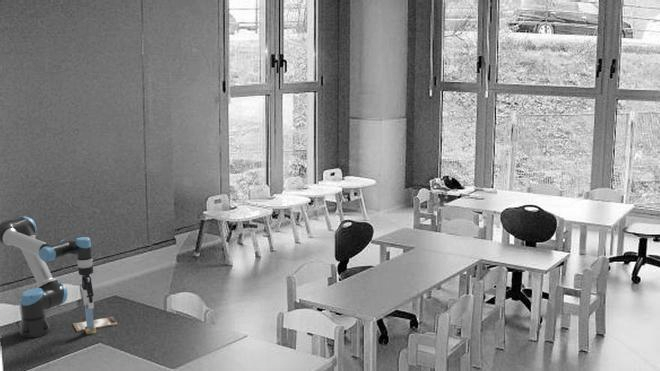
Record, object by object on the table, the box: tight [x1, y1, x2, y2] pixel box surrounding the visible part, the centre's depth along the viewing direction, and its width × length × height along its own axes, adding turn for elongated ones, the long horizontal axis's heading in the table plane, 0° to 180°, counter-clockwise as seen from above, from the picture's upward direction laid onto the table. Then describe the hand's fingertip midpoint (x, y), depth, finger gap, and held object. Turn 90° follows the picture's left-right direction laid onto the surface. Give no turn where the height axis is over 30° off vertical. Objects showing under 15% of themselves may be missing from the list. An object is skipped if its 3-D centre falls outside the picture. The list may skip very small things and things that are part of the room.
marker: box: [84, 302, 94, 328], centre depth 433 cm, size 4×4×14 cm
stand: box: [84, 325, 97, 335], centre depth 434 cm, size 5×5×3 cm
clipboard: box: [72, 316, 119, 333], centre depth 446 cm, size 22×14×1 cm, turn 116°
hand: (88, 304), depth 432 cm, fingers open, 13 cm apart
